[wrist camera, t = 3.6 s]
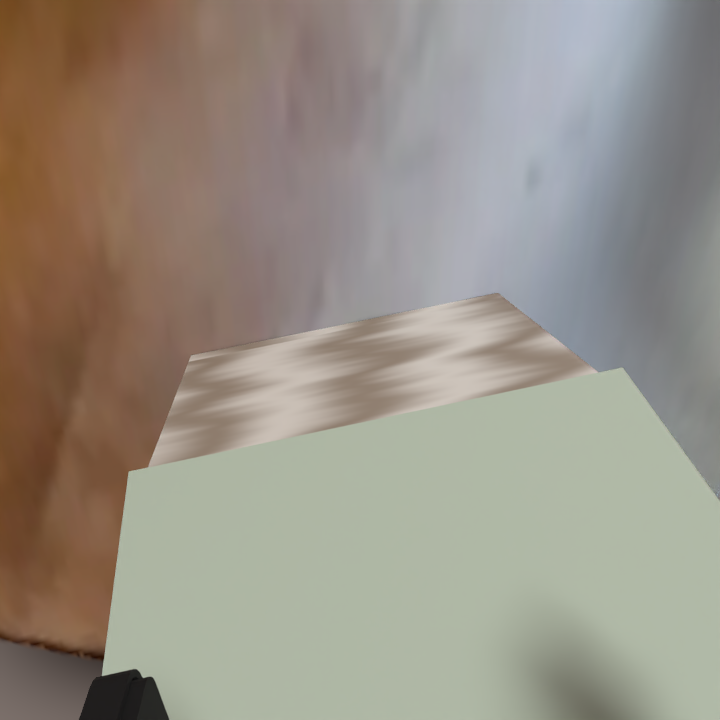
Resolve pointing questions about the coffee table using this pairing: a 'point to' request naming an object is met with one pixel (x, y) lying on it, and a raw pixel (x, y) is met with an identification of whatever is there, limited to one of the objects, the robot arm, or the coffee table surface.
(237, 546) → the lid
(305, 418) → the box
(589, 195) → the coffee table surface
